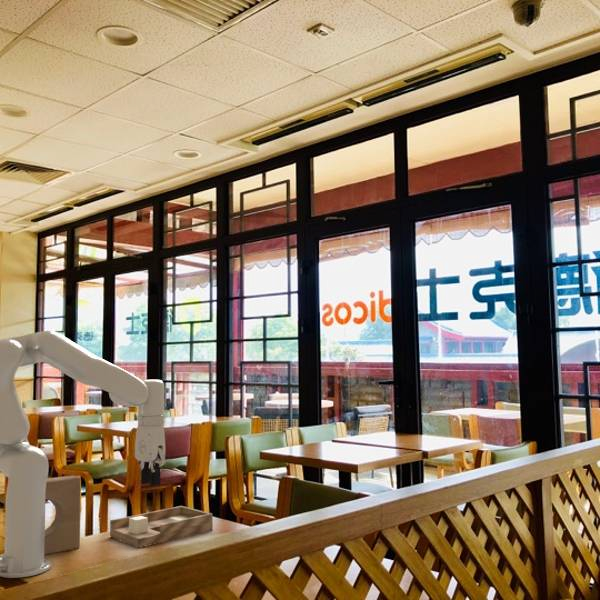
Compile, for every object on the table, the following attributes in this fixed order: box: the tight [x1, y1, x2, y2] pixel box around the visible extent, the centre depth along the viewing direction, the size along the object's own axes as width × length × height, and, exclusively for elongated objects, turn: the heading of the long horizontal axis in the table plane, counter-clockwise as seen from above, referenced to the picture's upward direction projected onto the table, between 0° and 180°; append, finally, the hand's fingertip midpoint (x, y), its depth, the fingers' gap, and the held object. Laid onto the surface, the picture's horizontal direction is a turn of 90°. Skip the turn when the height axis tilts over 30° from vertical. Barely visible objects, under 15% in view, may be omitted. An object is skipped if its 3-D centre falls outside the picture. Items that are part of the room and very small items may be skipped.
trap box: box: [109, 505, 214, 548], centre depth 201 cm, size 26×17×5 cm, turn 135°
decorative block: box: [44, 474, 82, 556], centre depth 186 cm, size 11×6×20 cm, turn 128°
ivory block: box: [129, 516, 148, 534], centre depth 194 cm, size 4×4×4 cm
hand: (150, 483), depth 191 cm, fingers open, 4 cm apart
